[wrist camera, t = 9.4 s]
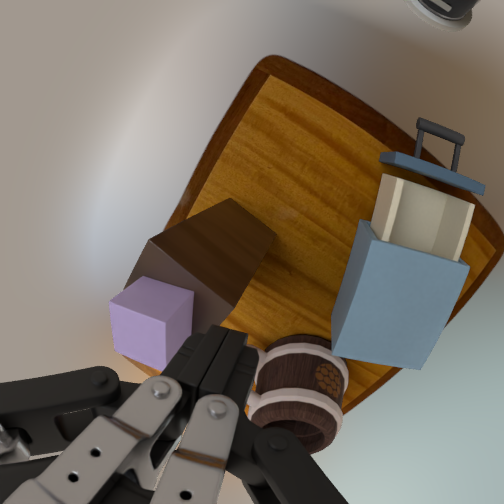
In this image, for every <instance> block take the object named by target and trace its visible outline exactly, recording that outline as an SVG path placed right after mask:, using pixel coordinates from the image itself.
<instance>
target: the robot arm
mask: <svg viewBox="0 0 504 504" xmlns="http://www.w3.org/2000/svg"><path fill="white" fill-rule="evenodd" d="M418 1H419V2H420V3H421V4H422V5H423V6H424V7H425V8H426V9H427V10H429V11H430V12H432V13H433V14H435V15H437V16H439V17H441V18H444V19H447V20H460V19H462V18H463V17H464V16H465V15H466V13H467V12H468V11H469V10H471V9H472V8H473V7H474V6H475V5H476V4H477V3H478V2H479V1H480V0H418ZM247 339H248V334H247V333H244V332H240V331H236V330H232V329H228V328H225V327H221V326H218V325H214V324H212V325H211V326H210V328H209V330H208V331H207V333H206V334H202V333H199V332H196V333H194V334H193V335H191V336H189V337H187V339H186V340H185V341H184V343H183V344H182V346H181V347H180V348H179V350H178V351H177V353H176V354H175V355H174V356H173V358H172V359H171V361H170V362H169V363H168V365H167V366H166V367H165V369H164V370H163V372H162V373H161V374H160V376H153V377H150V378H148V379H146V380H145V381H144V382H143V383H142V384H141V383H140V384H138V383H131V382H124V381H119V377H118V375H117V373H116V372H115V371H114V370H112V369H110V368H108V367H105V366H95V367H91V368H86V369H81V370H76V371H71V372H66V373H61V374H55V375H49V376H44V377H38V378H32V379H25V380H19V381H12V382H5V383H0V504H217V500H218V497H219V493H220V489H221V485H222V482H223V478H224V474H225V470H226V471H228V472H230V473H231V474H233V475H235V476H236V477H238V478H240V479H241V480H242V483H243V485H244V487H245V489H246V490H247V492H248V494H249V495H250V497H251V499H252V501H253V502H254V504H348V502H347V501H346V500H345V498H344V497H343V496H342V495H341V494H340V492H338V490H337V489H336V487H335V486H334V485H333V484H332V483H331V481H330V480H329V479H328V477H326V475H325V474H324V472H323V471H322V470H321V469H320V467H319V466H318V465H317V463H316V462H315V461H314V460H313V458H312V457H311V455H310V454H309V453H308V451H307V450H306V449H305V447H304V446H303V445H302V443H301V442H300V441H299V439H298V438H297V437H296V436H295V435H294V434H293V433H292V432H290V431H289V430H287V429H284V428H279V427H270V428H266V429H263V428H261V427H259V426H258V425H256V424H254V423H253V422H252V421H250V420H249V418H248V417H247V416H246V414H245V412H244V410H245V407H246V404H247V401H248V398H249V395H250V392H251V389H252V386H253V383H254V379H255V375H256V371H257V367H258V362H259V354H258V350H257V349H256V348H252V347H249V346H246V344H247ZM89 408H90V409H89ZM84 409H86V410H84ZM80 410H81V411H80ZM75 411H77V412H75ZM70 412H72V413H70ZM65 413H67V414H65ZM187 424H188V425H187ZM186 426H187V427H186ZM185 427H186V430H185V433H184V435H183V437H182V433H183V431H184V429H185ZM181 439H182V440H181ZM180 441H181V442H180ZM179 442H180V445H179V447H178V449H177V450H175V448H176V447H177V445H178V443H179ZM58 451H63V452H62V453H61V454H60V455H56V456H51V457H46V458H40V459H35V460H29V457H30V456H34V455H41V454H47V453H53V452H58ZM167 460H168V462H167ZM166 462H167V464H166V467H165V469H164V471H163V474H162V476H161V478H160V481H159V483H158V485H157V488H156V490H155V491H153V488H154V486H155V484H156V480H157V477H158V474H159V472H160V471H161V469H162V468H163V466H164V465H165V463H166Z"/></svg>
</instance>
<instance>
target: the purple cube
mask: <svg viewBox="0 0 504 504" xmlns="http://www.w3.org/2000/svg"><path fill="white" fill-rule="evenodd" d="M193 302H194V291H191V290H187V289H184V288H181V287H177V286H174V285H171V284H167V283H164V282H161V281H158V280H154V279H151V278H148V277H145V276H142V277H141V278H139V279H138V280H137V281H135V282H134V283H133V284H131V285H130V286H128V287H127V288H126V289H124V290H123V291H122V292H120V293H119V294H118V295H117V296H115V297H114V298H113V299H111V300H110V301H109V309H110V318H111V326H112V334H113V341H114V347H115V351H116V352H118V353H120V354H123V355H125V356H127V357H129V358H131V359H134V360H136V361H138V362H141V363H143V364H145V365H148V366H150V367H152V368H155V369H157V370H160V371H162V372H163V370H164V369H165V367H166V366H167V365H168V363H169V362H170V361H171V359H172V358H173V356H174V355H175V354H176V353H177V351H178V350H179V348H180V347H181V346H182V344H183V343H184V341H185V340H186V339H187V337H189V336H191V331H192V316H193Z"/></svg>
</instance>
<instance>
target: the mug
mask: <svg viewBox="0 0 504 504" xmlns="http://www.w3.org/2000/svg"><path fill="white" fill-rule="evenodd" d="M246 346H249V347H252V348H256V349H257V350H258V354H259V362H258V367H257V371H256V375H255V379H254V380H255V383H256V390H255V392H254V391H253V390H251V392H250V395H249V398H248V401H247V404H248V405H250V407H249V412H248V418H249V420H250V421H252V422H253V423H254V424H256V425H258V426H259V427H261V428H263V429H266V428H270V427H279V428H284V429H287V430H289V431H290V432H292V433H293V434H294V435H295V436H296V437H297V438H298V439H299V441H300V442H301V443H302V445H303V446H304V447H305V449H306V450H307V451H308V453H309V454H310V455H311V454H313V453H316V452H319V451H321V450H323V449H324V448H326V447H327V446H329V445H330V444H331V443H332V441H333V440H334V438H335V436H336V435H337V434H338V432H339V430H340V429H341V426H342V416H343V413H342V411H341V407H342V400H343V395H344V392H345V390H346V388H347V386H348V370H347V362H346V360H345V358H344V357H339V356H334V355H332V343H330V342H328V341H326V340H324V339H322V338H319V337H314V336H309V335H297V336H289V337H286V338H283V339H280V340H277V341H275V342H274V343H273V344H271V345H270V346H268V347H267V348H266V350H265V351H263V350H261V349H259V348H257V347H255V346H253V345H249V344H246Z"/></svg>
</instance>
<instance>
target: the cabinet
mask: <svg viewBox="0 0 504 504" xmlns="http://www.w3.org/2000/svg"><path fill="white" fill-rule="evenodd" d="M370 224H371V222H370V221H366V220H362V219H360V220H359V224H358V228H357V232H356V236H355V239H354V243H353V247H352V250H351V254H350V257H349V261H348V264H347V267H346V271H345V274H344V277H343V280H342V284H341V287H340V290H339V293H338V296H337V299H336V302H335V305H334V308H333V311H332V314H331V330H332V355H334V356H339V357H344V358H349V359H354V360H359V361H365V362H371V363H376V364H382V365H389V366H395V367H402V368H409V369H416V370H421V368H422V367H423V365H424V363H425V362H426V360H427V358H428V357H429V355H430V353H431V351H432V349H433V348H434V346H435V344H436V342H437V340H438V338H439V336H440V334H441V332H442V331H443V329H444V327H445V325H446V323H447V321H448V318H449V316H450V314H451V312H452V310H453V308H454V306H455V303H456V301H457V299H458V297H459V294H460V292H461V289H462V287H463V285H464V282H465V280H466V277H467V275H468V272H469V269H470V266H468V265H467V264H466V263H465V262H464V261H463V260H462V259H461V258H460V257H459V260H458V262H457V261H454V260H450V259H447V258H444V257H440V256H437V255H433V254H430V253H426V252H423V251H419V250H416V249H412V248H408V247H405V246H401V245H397V244H394V243H390V242H386V241H382V240H379V239H377V237H376V236H375V234H374V233H373V231H372V230H371V228H370Z"/></svg>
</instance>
